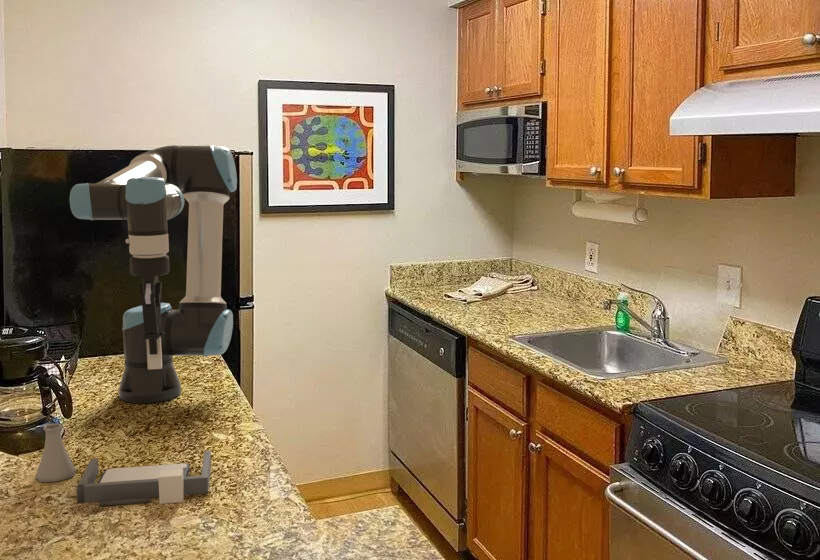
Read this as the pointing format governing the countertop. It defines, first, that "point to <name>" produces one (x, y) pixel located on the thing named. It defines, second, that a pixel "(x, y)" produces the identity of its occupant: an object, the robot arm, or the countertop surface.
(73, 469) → the flask
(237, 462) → the countertop surface
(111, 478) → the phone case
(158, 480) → the dock
